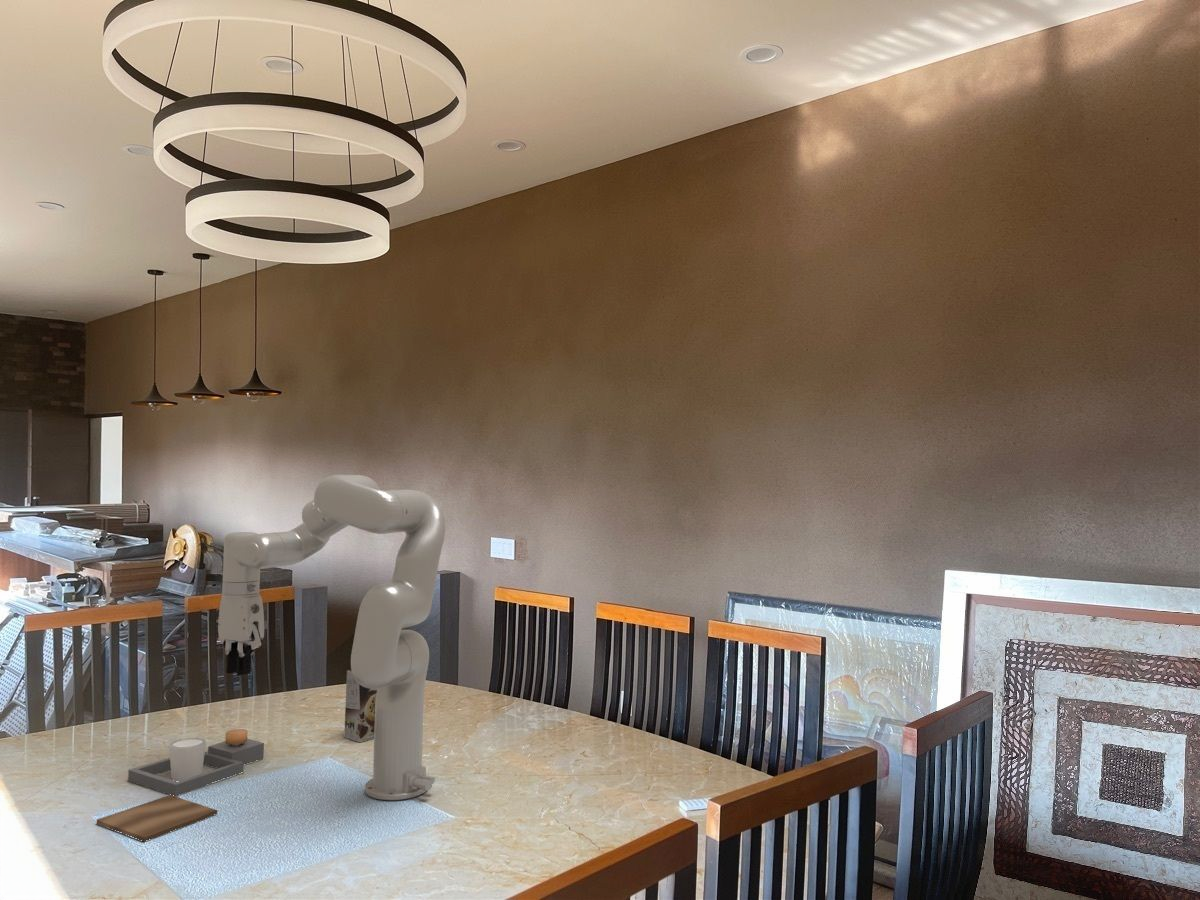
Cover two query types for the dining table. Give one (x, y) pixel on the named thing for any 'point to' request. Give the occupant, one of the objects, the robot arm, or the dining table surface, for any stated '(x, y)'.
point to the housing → (217, 756)
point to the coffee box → (359, 710)
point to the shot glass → (186, 758)
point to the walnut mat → (156, 817)
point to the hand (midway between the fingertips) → (238, 672)
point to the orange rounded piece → (236, 737)
